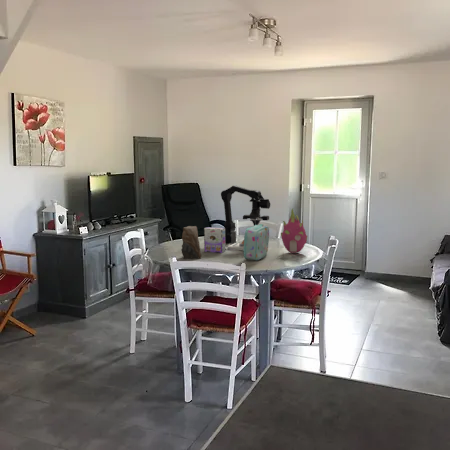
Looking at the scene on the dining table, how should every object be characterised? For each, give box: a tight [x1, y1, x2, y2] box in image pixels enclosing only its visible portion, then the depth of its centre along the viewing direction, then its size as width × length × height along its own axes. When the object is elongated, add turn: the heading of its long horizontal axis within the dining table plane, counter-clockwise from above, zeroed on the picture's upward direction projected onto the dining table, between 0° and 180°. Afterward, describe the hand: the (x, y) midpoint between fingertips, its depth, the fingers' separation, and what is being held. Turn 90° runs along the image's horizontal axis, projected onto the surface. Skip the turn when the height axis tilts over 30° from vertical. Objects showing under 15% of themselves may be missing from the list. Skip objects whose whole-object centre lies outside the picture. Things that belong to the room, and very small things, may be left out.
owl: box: [181, 225, 202, 260], centre depth 320 cm, size 13×13×20 cm
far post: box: [230, 230, 237, 245], centre depth 364 cm, size 5×5×10 cm
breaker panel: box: [227, 242, 244, 251], centre depth 350 cm, size 16×14×4 cm
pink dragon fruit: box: [280, 208, 308, 254], centre depth 330 cm, size 18×14×30 cm
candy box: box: [203, 226, 226, 254], centre depth 338 cm, size 14×6×16 cm, turn 65°
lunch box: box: [243, 223, 270, 261], centre depth 317 cm, size 27×10×21 cm, turn 159°
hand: (255, 229), depth 360 cm, fingers closed
